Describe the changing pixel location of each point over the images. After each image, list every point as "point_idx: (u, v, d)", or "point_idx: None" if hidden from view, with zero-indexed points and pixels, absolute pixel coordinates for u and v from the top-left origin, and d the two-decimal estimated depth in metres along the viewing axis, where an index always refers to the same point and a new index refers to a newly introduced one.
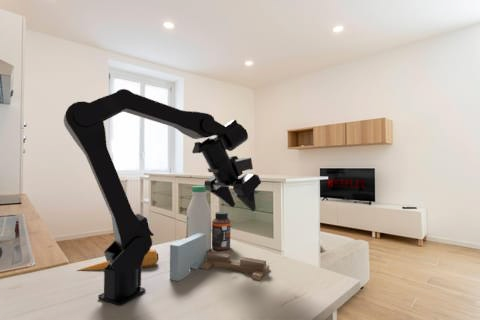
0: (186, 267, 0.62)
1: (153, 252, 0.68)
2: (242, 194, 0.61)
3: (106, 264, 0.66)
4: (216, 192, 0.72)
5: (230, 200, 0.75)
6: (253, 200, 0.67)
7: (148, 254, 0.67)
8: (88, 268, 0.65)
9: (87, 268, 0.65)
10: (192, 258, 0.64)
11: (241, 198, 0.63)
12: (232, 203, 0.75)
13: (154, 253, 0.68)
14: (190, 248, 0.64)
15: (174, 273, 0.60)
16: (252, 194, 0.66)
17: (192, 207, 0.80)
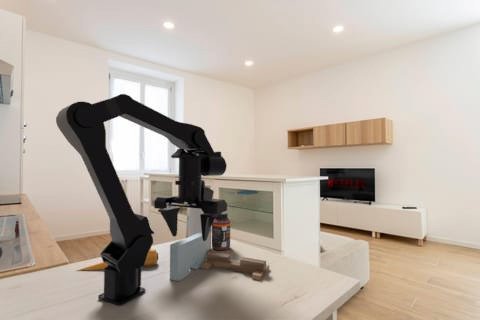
0: (186, 267, 0.62)
1: (153, 251, 0.69)
2: (211, 212, 0.59)
3: (106, 264, 0.66)
4: (167, 212, 0.65)
5: (174, 228, 0.67)
6: (209, 228, 0.63)
7: (148, 253, 0.68)
8: (88, 268, 0.65)
9: (87, 268, 0.65)
10: (192, 258, 0.64)
11: (205, 218, 0.60)
12: (175, 231, 0.67)
13: (154, 252, 0.69)
14: (190, 248, 0.64)
15: (174, 273, 0.60)
16: (211, 221, 0.64)
17: None
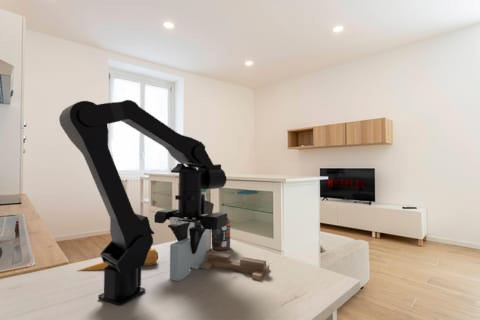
0: (186, 267, 0.62)
1: (153, 251, 0.69)
2: (211, 227, 0.59)
3: (106, 264, 0.66)
4: (177, 227, 0.64)
5: None
6: (199, 241, 0.65)
7: (148, 252, 0.68)
8: (88, 268, 0.65)
9: (86, 268, 0.65)
10: (192, 258, 0.64)
11: (194, 232, 0.62)
12: None
13: (154, 252, 0.69)
14: (190, 248, 0.64)
15: (174, 273, 0.60)
16: (201, 234, 0.65)
17: None
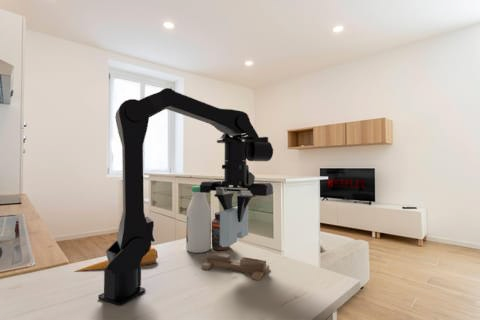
0: (234, 234, 0.64)
1: (153, 249, 0.70)
2: (261, 194, 0.61)
3: (106, 263, 0.66)
4: (224, 196, 0.65)
5: None
6: (244, 210, 0.66)
7: None
8: (87, 268, 0.65)
9: (86, 268, 0.65)
10: (238, 226, 0.66)
11: (242, 199, 0.63)
12: None
13: (154, 250, 0.70)
14: (237, 216, 0.65)
15: (225, 239, 0.61)
16: (246, 203, 0.66)
17: (192, 207, 0.80)
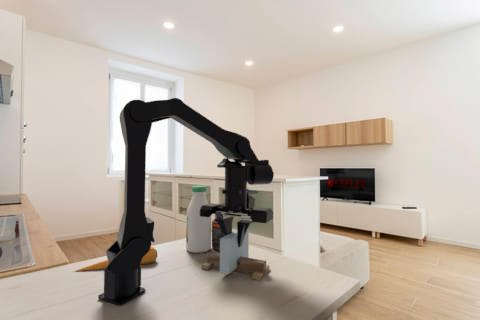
0: (234, 261, 0.63)
1: (153, 249, 0.70)
2: (261, 221, 0.60)
3: (106, 263, 0.66)
4: (224, 221, 0.65)
5: None
6: (244, 235, 0.66)
7: None
8: (87, 268, 0.65)
9: (86, 268, 0.65)
10: (238, 252, 0.66)
11: (242, 225, 0.63)
12: None
13: (154, 250, 0.70)
14: (237, 242, 0.65)
15: (225, 266, 0.61)
16: (246, 228, 0.66)
17: (192, 207, 0.80)
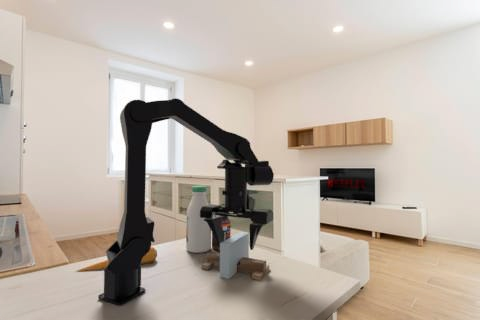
0: (234, 265, 0.63)
1: (152, 249, 0.71)
2: (261, 222, 0.60)
3: (106, 263, 0.66)
4: (213, 221, 0.67)
5: (219, 236, 0.68)
6: (256, 237, 0.65)
7: None
8: (87, 268, 0.65)
9: (86, 268, 0.65)
10: (238, 256, 0.66)
11: (254, 228, 0.62)
12: (220, 240, 0.68)
13: (153, 250, 0.71)
14: (237, 247, 0.65)
15: (225, 271, 0.61)
16: (258, 230, 0.65)
17: (192, 207, 0.80)
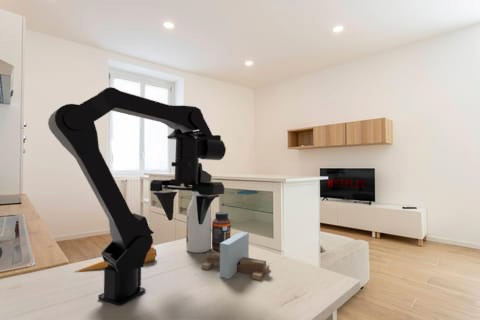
0: (234, 265, 0.63)
1: (152, 248, 0.72)
2: (207, 193, 0.57)
3: (106, 263, 0.66)
4: (162, 194, 0.64)
5: (170, 211, 0.65)
6: (206, 211, 0.61)
7: None
8: (87, 268, 0.65)
9: (85, 268, 0.65)
10: (238, 256, 0.66)
11: (201, 199, 0.58)
12: (171, 215, 0.65)
13: (153, 249, 0.72)
14: (237, 247, 0.65)
15: (225, 271, 0.61)
16: (208, 204, 0.62)
17: (192, 207, 0.80)
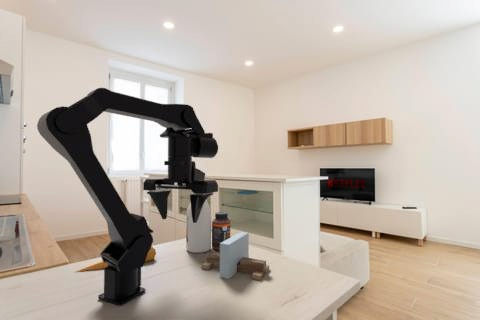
0: (234, 265, 0.63)
1: (151, 248, 0.72)
2: (201, 191, 0.57)
3: (106, 263, 0.67)
4: (156, 193, 0.63)
5: (164, 210, 0.65)
6: (200, 210, 0.61)
7: None
8: (86, 269, 0.65)
9: (85, 269, 0.65)
10: (238, 256, 0.66)
11: (195, 198, 0.58)
12: (165, 214, 0.65)
13: (152, 248, 0.72)
14: (237, 246, 0.65)
15: (225, 271, 0.61)
16: (202, 202, 0.61)
17: None
